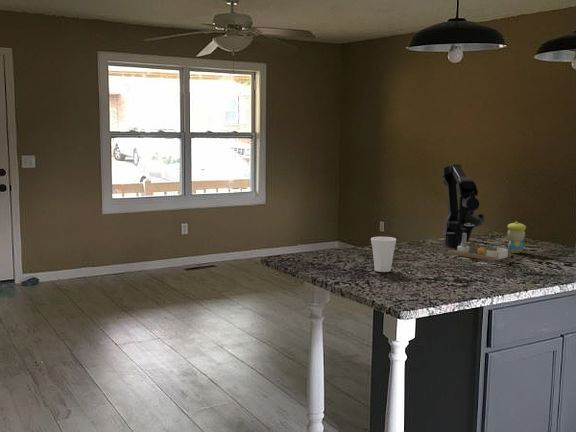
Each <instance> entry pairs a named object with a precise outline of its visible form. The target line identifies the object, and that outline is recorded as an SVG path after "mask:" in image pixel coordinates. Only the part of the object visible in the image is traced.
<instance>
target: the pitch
mask: <svg viewBox="0 0 576 432" xmlns="http://www.w3.org/2000/svg"><path fill="white" fill-rule="evenodd" d="M479 248H480V247H474V246H469V252H462V251H457V250H455V249H454V250H450V249H449V250H448V249H447V254H448V255H453V256H459V257H467V258H471V259H478V260H484V261H488V262H495V261H497V260H495V257H489V256H486V252H487V250H490V251H496V250H497V249H496V250H495V249H489V248H484V249H485V250H486V252H485V254H484V255H479V254H478V252H477V251H478V249H479ZM510 257H512V253H511V252H510V251H508V257H506V258H510ZM506 258H505V259H506ZM499 260H501V259H499ZM499 260H498V261H499Z"/></svg>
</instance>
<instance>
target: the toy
mask: <svg viewBox="0 0 576 432" xmlns="http://www.w3.org/2000/svg"><path fill="white" fill-rule="evenodd" d="M506 228H508V229H507V238H508V239H509V242H508V244H507V249H508V252H509V253H511V254H520V253H521V252H522V251H523V249H524V244H523V240H524V239H525V237H526V231H525V230H526V229H527V226H526V225H525V224H523V223H519V222H518V221H514V222H512V223H508V224H507V227H506Z"/></svg>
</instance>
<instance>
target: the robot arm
mask: <svg viewBox="0 0 576 432" xmlns="http://www.w3.org/2000/svg"><path fill="white" fill-rule="evenodd" d="M440 177H441V179H442V183H443V185H444V186H445V188H446V197H447V209H448V211H447V212H448V216H447V218H446V220H445V224H444V226H443V228H442V234H443V235H445V243H444V245H445V246H446V247H449V248H457V246H461V242H462V236H463V233H467V239H466V242H469V240H470V238H471V235H472V233H473V231H474V230H475V229H476V228H477V227H479V226H481V227H482V225H483V224H484V222H485V215H484V214H482V213H480V214H476V213H475V211H476V210H478V208H479V207H480V201H479V199H478V198H476V197H478V195H479V194H478V193H479V190H478V188H477V185H476V182H475V180H473V178H471V177H468V176H467V175H466V173H465V172H464V169H463V167H462V165H461V164H460V163H459V164H458V163H451V164H450V165H448V166H445V167H444V168H442V169H441V172H440Z"/></svg>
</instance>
